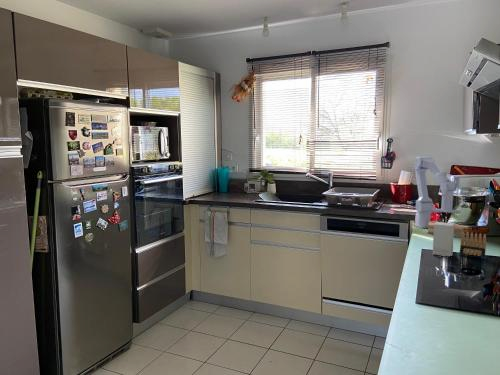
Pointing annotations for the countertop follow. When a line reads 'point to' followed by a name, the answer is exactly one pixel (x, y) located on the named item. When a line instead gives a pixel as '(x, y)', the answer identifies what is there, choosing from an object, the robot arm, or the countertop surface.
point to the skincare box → (443, 238)
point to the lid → (431, 223)
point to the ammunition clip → (473, 245)
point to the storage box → (456, 231)
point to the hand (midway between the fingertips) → (445, 225)
